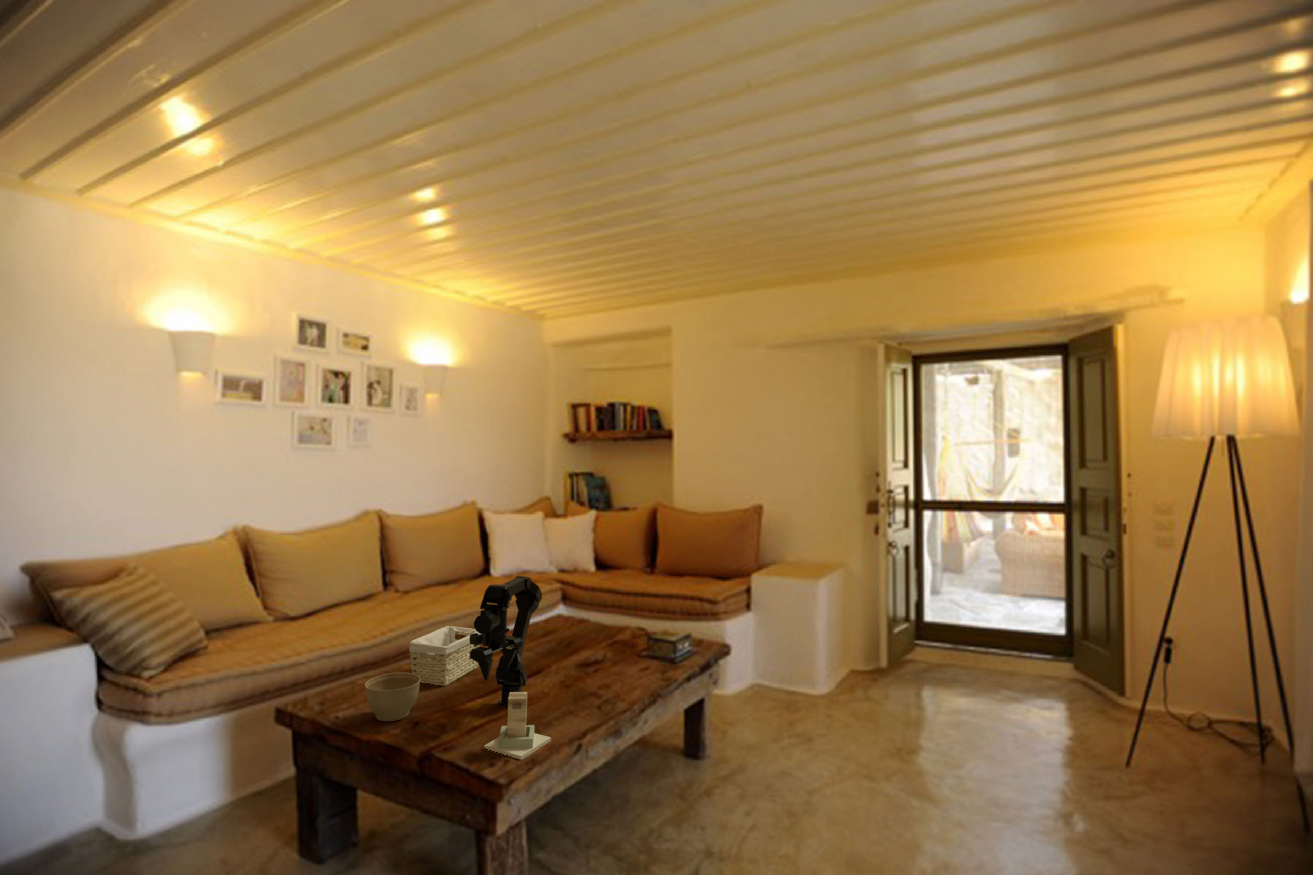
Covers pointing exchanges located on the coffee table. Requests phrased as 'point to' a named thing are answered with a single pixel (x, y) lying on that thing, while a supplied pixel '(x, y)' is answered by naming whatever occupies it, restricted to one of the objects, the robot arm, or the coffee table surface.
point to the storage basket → (442, 655)
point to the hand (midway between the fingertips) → (495, 675)
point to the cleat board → (519, 751)
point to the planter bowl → (392, 695)
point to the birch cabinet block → (517, 714)
